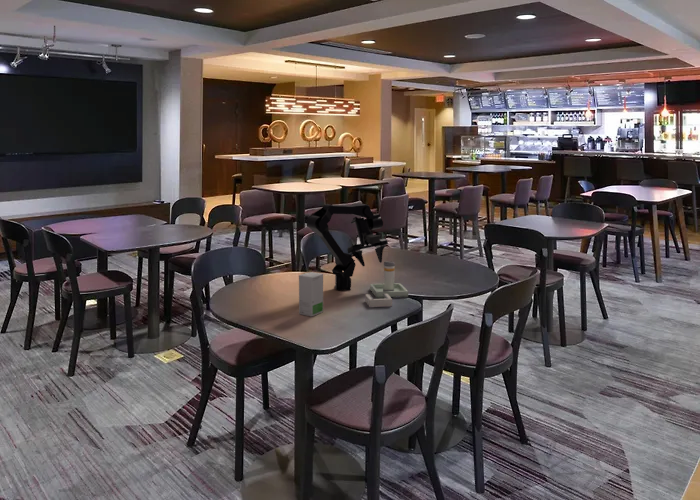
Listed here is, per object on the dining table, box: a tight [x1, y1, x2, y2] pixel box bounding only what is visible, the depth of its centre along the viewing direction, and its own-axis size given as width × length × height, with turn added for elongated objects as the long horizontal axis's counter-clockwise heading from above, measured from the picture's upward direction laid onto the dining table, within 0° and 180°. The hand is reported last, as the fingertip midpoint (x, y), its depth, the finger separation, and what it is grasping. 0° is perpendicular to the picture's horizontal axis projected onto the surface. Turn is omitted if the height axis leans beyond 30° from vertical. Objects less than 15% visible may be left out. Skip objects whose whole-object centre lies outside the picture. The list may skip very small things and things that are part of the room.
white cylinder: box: [382, 260, 396, 292], centre depth 254 cm, size 5×5×13 cm
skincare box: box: [298, 271, 324, 317], centre depth 225 cm, size 8×7×16 cm
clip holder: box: [364, 293, 393, 308], centre depth 240 cm, size 9×8×3 cm
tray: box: [369, 282, 409, 299], centre depth 256 cm, size 14×14×2 cm
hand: (372, 264), depth 262 cm, fingers open, 9 cm apart
